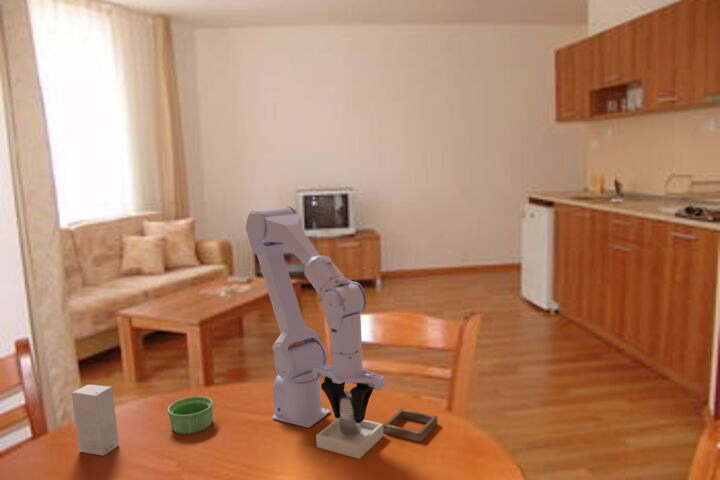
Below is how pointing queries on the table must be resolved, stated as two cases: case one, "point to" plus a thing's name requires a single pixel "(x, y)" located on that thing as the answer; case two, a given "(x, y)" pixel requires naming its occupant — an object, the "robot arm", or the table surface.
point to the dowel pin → (348, 415)
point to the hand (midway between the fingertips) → (349, 418)
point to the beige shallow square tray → (350, 438)
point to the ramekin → (190, 414)
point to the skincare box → (95, 419)
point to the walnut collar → (407, 433)
